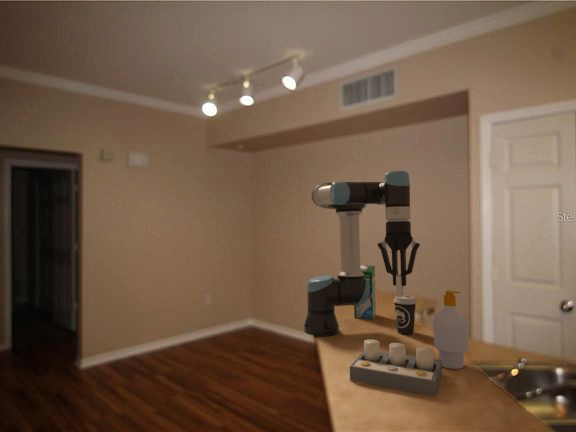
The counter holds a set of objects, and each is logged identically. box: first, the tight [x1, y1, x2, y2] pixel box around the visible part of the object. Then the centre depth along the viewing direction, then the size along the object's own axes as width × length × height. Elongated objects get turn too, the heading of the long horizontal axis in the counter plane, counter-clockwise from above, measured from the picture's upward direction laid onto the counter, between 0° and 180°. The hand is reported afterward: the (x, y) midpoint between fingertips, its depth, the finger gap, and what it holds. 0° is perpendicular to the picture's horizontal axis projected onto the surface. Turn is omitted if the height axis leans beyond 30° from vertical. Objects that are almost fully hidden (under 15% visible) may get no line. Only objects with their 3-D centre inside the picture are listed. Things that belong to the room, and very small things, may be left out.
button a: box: [363, 338, 381, 362], centre depth 118 cm, size 5×5×6 cm
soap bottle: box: [433, 290, 469, 370], centre depth 121 cm, size 10×10×24 cm
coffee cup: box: [392, 294, 418, 336], centre depth 157 cm, size 10×10×15 cm
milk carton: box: [353, 264, 377, 320], centre depth 185 cm, size 9×9×25 cm
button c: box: [415, 346, 434, 371], centre depth 111 cm, size 5×5×6 cm
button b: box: [388, 342, 406, 367], centre depth 114 cm, size 5×5×6 cm
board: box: [349, 350, 443, 397], centre depth 113 cm, size 24×17×4 cm
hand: (399, 296), depth 116 cm, fingers closed
